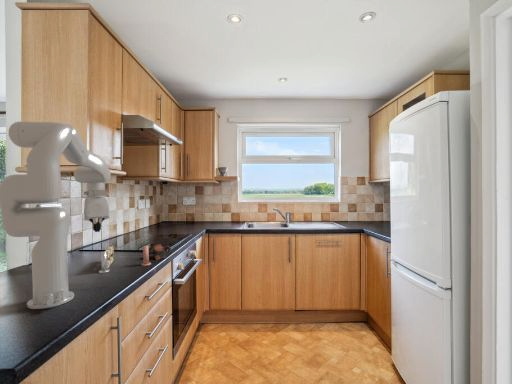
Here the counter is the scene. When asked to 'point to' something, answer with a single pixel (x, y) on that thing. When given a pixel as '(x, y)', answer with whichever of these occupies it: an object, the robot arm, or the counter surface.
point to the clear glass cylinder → (104, 262)
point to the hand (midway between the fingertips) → (97, 231)
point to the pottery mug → (159, 251)
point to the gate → (110, 256)
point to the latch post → (145, 256)
